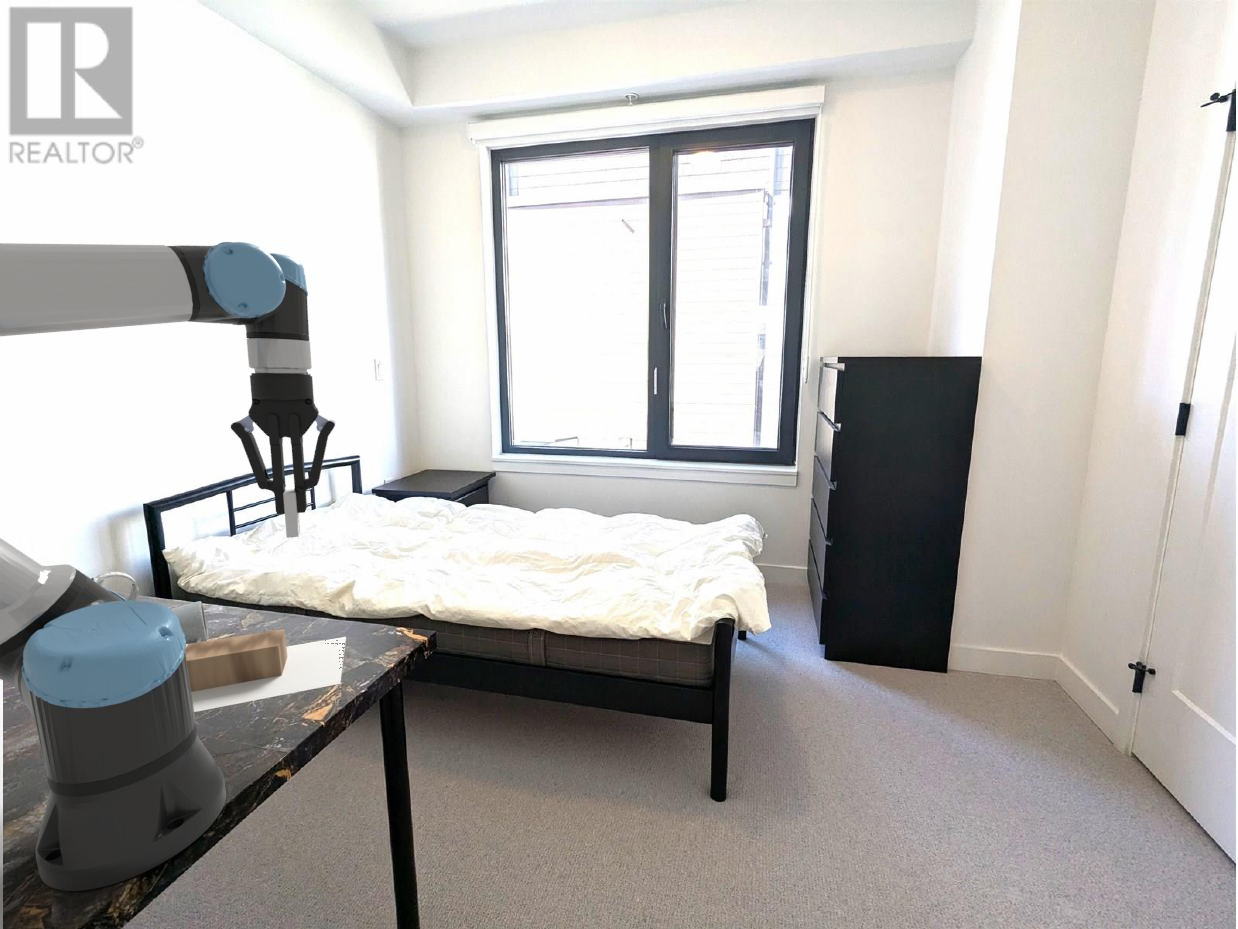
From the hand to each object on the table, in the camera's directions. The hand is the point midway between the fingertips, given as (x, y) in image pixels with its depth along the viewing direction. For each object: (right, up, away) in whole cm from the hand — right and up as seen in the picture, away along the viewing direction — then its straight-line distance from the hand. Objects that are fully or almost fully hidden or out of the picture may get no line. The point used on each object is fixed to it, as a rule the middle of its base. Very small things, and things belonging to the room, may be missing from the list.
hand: (293, 534), depth 82 cm
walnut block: (-6, -20, +8) cm, 22 cm away
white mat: (-8, -23, +6) cm, 25 cm away
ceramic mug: (-27, -22, +13) cm, 37 cm away
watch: (-44, -20, +20) cm, 53 cm away
